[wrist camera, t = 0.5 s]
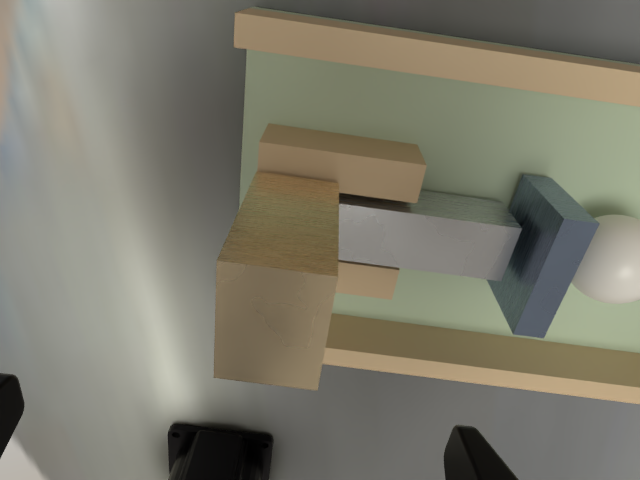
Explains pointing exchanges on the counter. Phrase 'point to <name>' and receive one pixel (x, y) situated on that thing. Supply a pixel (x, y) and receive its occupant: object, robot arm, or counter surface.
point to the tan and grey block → (379, 263)
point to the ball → (612, 261)
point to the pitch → (448, 183)
